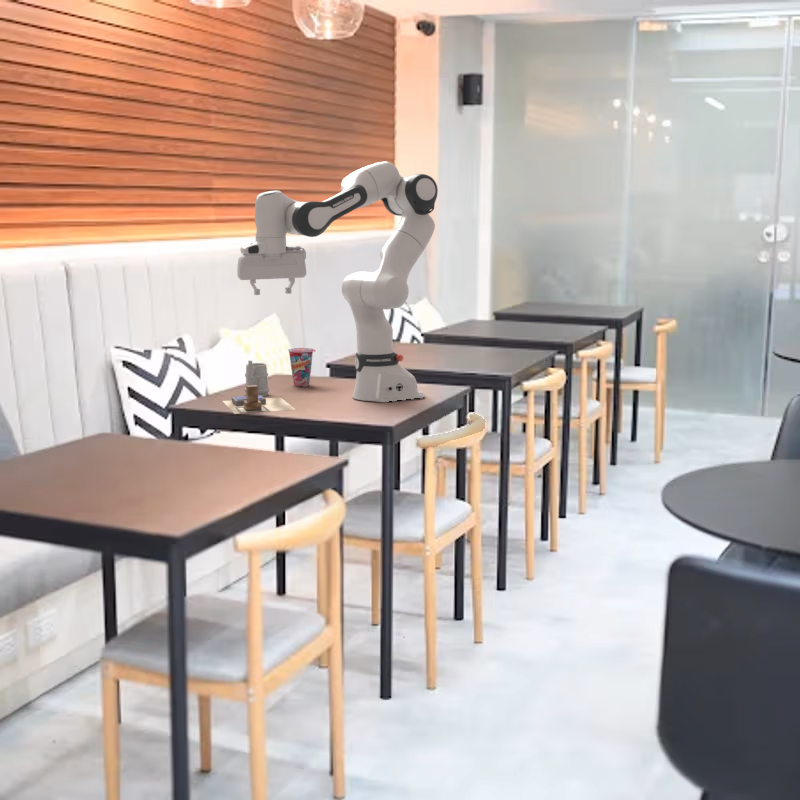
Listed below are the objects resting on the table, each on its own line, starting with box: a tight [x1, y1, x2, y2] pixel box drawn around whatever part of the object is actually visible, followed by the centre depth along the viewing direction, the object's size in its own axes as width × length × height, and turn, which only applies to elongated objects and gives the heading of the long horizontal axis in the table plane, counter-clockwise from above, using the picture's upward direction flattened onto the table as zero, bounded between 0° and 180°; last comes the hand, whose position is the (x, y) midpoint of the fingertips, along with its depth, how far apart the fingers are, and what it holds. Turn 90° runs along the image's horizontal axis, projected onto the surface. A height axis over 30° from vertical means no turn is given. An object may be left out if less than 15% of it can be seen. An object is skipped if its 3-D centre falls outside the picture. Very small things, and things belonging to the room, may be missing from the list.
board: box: [222, 395, 297, 415], centre depth 330 cm, size 18×21×3 cm
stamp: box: [243, 384, 262, 411], centre depth 323 cm, size 4×4×7 cm
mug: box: [244, 360, 270, 397], centre depth 349 cm, size 8×12×12 cm, turn 170°
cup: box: [287, 347, 316, 387], centre depth 369 cm, size 9×8×12 cm
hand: (272, 294), depth 329 cm, fingers open, 8 cm apart
